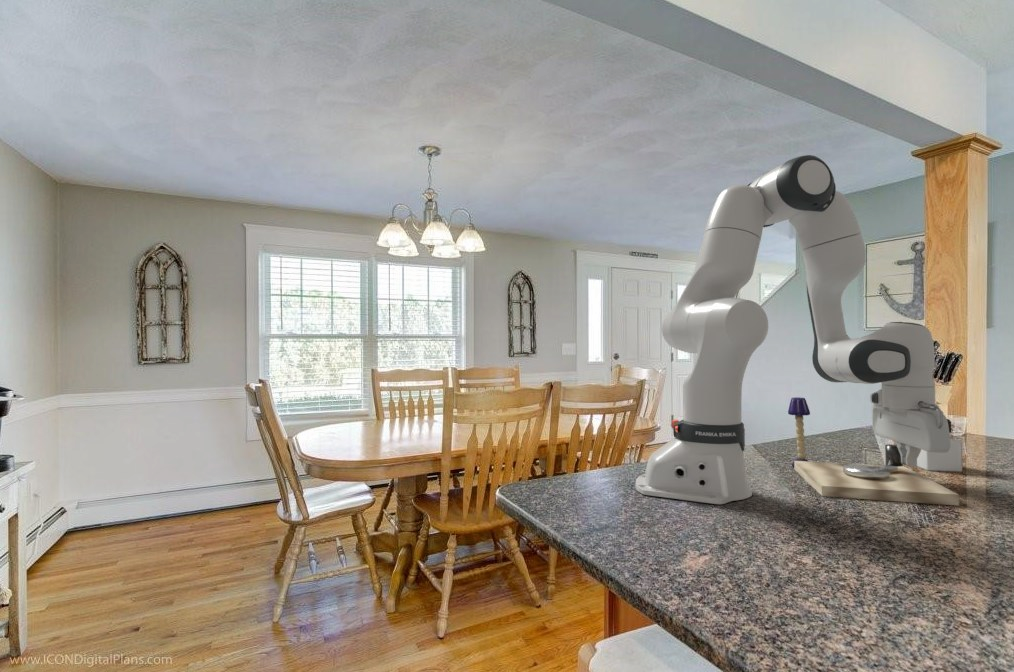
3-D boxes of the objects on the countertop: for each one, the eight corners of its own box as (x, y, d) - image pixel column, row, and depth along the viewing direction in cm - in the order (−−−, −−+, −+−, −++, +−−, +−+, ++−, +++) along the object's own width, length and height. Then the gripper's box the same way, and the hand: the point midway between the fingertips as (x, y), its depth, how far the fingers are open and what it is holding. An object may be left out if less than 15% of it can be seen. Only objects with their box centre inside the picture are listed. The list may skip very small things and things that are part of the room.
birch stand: (822, 496, 99) (821, 485, 99) (794, 469, 120) (794, 460, 120) (959, 505, 92) (958, 494, 92) (904, 475, 113) (904, 466, 113)
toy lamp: (790, 467, 121) (789, 398, 121) (788, 463, 125) (786, 396, 125) (813, 469, 119) (812, 399, 119) (810, 465, 123) (808, 397, 124)
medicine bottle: (963, 472, 115) (961, 419, 116) (927, 470, 117) (926, 419, 117) (943, 464, 122) (941, 415, 122) (909, 463, 124) (908, 414, 124)
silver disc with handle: (872, 480, 101) (871, 454, 101) (834, 471, 108) (833, 447, 108) (919, 473, 106) (918, 448, 106) (879, 464, 113) (879, 442, 113)
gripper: (960, 405, 95) (961, 479, 95) (896, 394, 115) (896, 455, 115) (923, 404, 96) (924, 477, 96) (865, 394, 116) (866, 454, 116)
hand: (908, 465), depth 105 cm, fingers closed
